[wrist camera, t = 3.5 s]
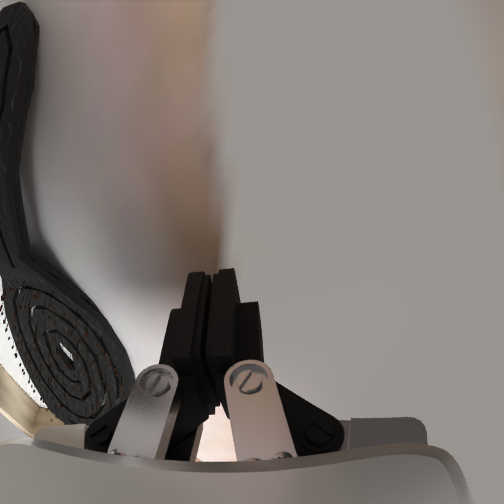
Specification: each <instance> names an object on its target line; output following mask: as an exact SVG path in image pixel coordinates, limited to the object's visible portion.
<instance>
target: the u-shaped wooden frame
mask: <svg viewBox="0 0 504 504" xmlns="http://www.w3.org/2000/svg"><path fill="white" fill-rule="evenodd" d="M0 412H1V413H2V414H3V415H4V416H5V417H6V418H7V419H9V420H10V421H11V422H12V423H13V424H14V425H16V426H17V427H18V428H19V429H20V430H22V431H23V432H24V433H25V434H26V435H28V436H29V437H31V438H34V435H35V433H36V432H37V430H39V429H40V428H41V427H45V426H60V425H64V423H63V422H62V421H61V420H60V422H59V418H58V419H57V418H55V415H54V414H53V413H52V415H51V412H50V410H49V409H48V411H46V408H41V407H39V406H38V405H37V404H36V403H35V402H34V401H33V400H32V399H31V398H30V397H29V396H28V395H27V394H26V393H25V392H24V391H23V390H22V389H21V388H20V387H19V385H18V384H17V383H16V382H15V381H14V380H13V379H12V378H11V377H10V376H9V374H8V373H7V372H6V371H5V370H4V369H3V367H2V366H1V365H0ZM51 419H52V422H51Z"/></svg>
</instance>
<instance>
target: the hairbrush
mask: <svg viewBox="0 0 504 504" xmlns="http://www.w3.org/2000/svg"><path fill="white" fill-rule="evenodd" d="M34 21H35V24H36V28H37V31H36V36H35V32H34ZM38 39H39V24H38V23H37V21H36V19H35V17H34V15H33V13H32V12H31V10H30V9H29V8H28V6H27V5H26V4H25V3H23V2H18V3H15V4H12V5H9V6H6V7H4V8H3V9H2V10H1V12H0V276H1V278H2V288H3V294H2V296H1V301H4V308H5V314H6V317H7V321H8V324H9V327H10V330H11V333H12V336H13V339H14V342H15V345H16V348H17V349H16V350H18V353H19V355H20V357H21V359H22V362H23V364H24V366H25V368H26V370H27V372H28V374H29V381H28V383H30V378H31V380H32V382H33V384H34V388H35V387H36V389H37V391H38V392H39V394H40V396H41V398H40V400H42V399H43V401H42V402H43V403H44V402H45V404H46V405H47V407H48V409H49V410H50V412H51V415H52V413H53V414H54V415H55V418H57V419H58V418H59V422H60V420H61V421H62V422H63V423H64V425H75V424H85V425H86V426H89V425H90V424H91V423H93V422H94V421H95V420H97V419H98V418H99V417H101V416H102V415H104V414H105V413H107V412H108V411H110V410H111V409H112V408H114V407H115V406H116V404H117V401H118V398H119V403H121V402H122V401H124V400H125V399H127V398H128V397H129V395H130V393H131V390H132V388H133V385H134V383H135V379H134V374H133V371H132V367H131V364H130V361H129V357H128V355H127V352H126V350H125V348H124V347H123V345H122V344H121V342H120V340H119V339H118V337H117V335H116V334H115V332H114V330H113V329H112V327H111V325H110V324H109V322H108V321H107V320H106V319H105V318H104V316H103V315H102V313H101V312H100V311H99V309H98V308H97V306H96V305H95V304H94V303H93V302H92V301H91V300H90V299H89V298H88V297H87V296H86V295H85V294H84V293H83V292H82V291H80V290H79V289H78V288H77V287H76V286H74V285H73V284H72V283H71V282H70V281H69V280H67V279H66V278H65V277H64V276H63V275H61V274H60V273H59V272H58V271H56V270H55V269H54V268H53V267H51V266H50V265H49V264H48V263H46V262H45V261H44V260H43V259H41V258H40V257H39V256H38V255H36V254H35V253H34V252H33V251H32V250H31V248H30V243H29V238H28V233H27V228H26V222H25V216H24V209H23V202H22V194H21V186H20V176H19V169H20V159H21V151H22V143H23V136H24V130H25V124H26V119H27V113H28V108H29V103H30V99H31V94H32V90H33V86H34V73H35V63H36V54H37V46H38ZM24 286H25V287H24ZM20 287H22V288H20ZM19 289H20V291H21V292H20V294H19V295H18V293H19ZM79 294H80V295H81V296H82V297H84V298H85V299H86V300H88V301H89V302H90V303H91V304H92V305H93V306H94V307H95V308H96V310H97V311H98V312H99V313H100V314H99V313H98V312H97V311H96V310H95V309H94V308H93V307H92V306H91V305H89V304H88V303H87V302H86V301H85V300H84V299H83V298H82V297H81V296H80V295H79ZM34 306H36V307H35V308H33V315H31V309H32V307H34ZM2 307H3V303H2V305H1V307H0V311H1V309H2ZM3 310H4V309H3ZM1 315H3V312H1ZM6 317H5V319H4V320H3V324H5V323H6V322H5V320H6ZM8 324H7V327H8ZM7 327H6V329H5V332H7V330H8V329H7ZM47 331H48V332H47ZM9 339H10V337H8V340H9ZM60 343H61V344H62V345H63V346H64V347H65V348H66V349H67V350H68V351H69V352H70V358H69V357H68V356H67V355H66V354H65V353H64V352H63V351H62V350H63V349H61V345H60ZM13 344H14V343H13ZM13 347H14V346H12V349H13ZM71 354H72V356H73V361H74V362H73V361H72V360H71ZM14 355H15V356H16V357H15V358H17V353H15V354H14ZM68 359H69V360H70V361H69V360H68ZM71 362H72V364H71ZM19 366H21V363H20V364H19ZM24 370H25V369H24ZM24 370H23V369H22V372H23V371H24ZM24 374H25V372H23V375H24ZM91 384H92V386H91ZM90 386H91V387H92V390H89V389H90ZM31 388H32V385H31ZM106 391H107V397H106V401H105V403H104V405H103V406H101V405H102V402H103V399H104V396H105V394H106ZM34 392H35V390H33V393H34ZM48 409H47V408H46V411H48ZM51 422H52V419H51Z"/></svg>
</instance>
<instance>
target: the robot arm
mask: <svg viewBox="0 0 504 504" xmlns="http://www.w3.org/2000/svg"><path fill="white" fill-rule="evenodd" d="M220 402H221V404H222V406H223V409H224V411H225V413H226V416H227V418H228V419H230V423H231V429H232V435H233V441H234V446H235V452H236V457H237V462H195V461H196V456H197V452H198V448H199V444H200V439H201V435H202V431H203V422H205V421H206V420H207V419H208V418H209V415H215V407H217V406H220ZM0 504H474V503H473V499H472V496H471V493H470V490H469V487H468V484H467V481H466V479H465V476H464V474H463V472H462V470H461V468H460V466H459V464H458V463H457V461H456V460H455V459H454V457H453V456H452V455H451V454H450V453H448V452H447V451H445V450H444V449H442V448H439V447H435V446H431V445H428V443H427V431H426V428H425V426H424V424H423V423H422V422H421V421H420V420H418V419H416V418H413V417H393V418H351V420H337V419H336V418H335V417H333V416H332V415H330V414H328V413H326V412H325V411H323V410H321V409H320V408H318V407H316V406H315V405H313V404H311V403H309V402H308V401H306V400H305V399H303V398H301V397H300V396H298V395H296V394H295V393H293V392H292V391H290V390H288V389H287V388H285V387H284V386H282V385H281V384H279V383H277V382H276V381H275V379H274V376H273V373H272V371H271V369H270V367H268V366H267V365H266V364H265V363H264V357H263V341H262V330H261V320H260V313H259V305H258V301H257V302H247V303H241V302H240V297H239V291H238V286H237V280H236V275H235V270H234V268H231V269H221V270H219V273H218V274H214V276H213V284H212V280H211V276H210V275H205V273H204V271H202V272H192V273H189V274H188V278H187V282H186V287H185V292H184V296H183V301H182V305H181V308H179V309H172V310H171V312H170V316H169V320H168V325H167V329H166V333H165V338H164V342H163V346H162V351H161V356H160V360H159V364H156V365H153V366H149V367H148V368H146V369H144V370H143V371H142V372H141V373H140V374H139V375H138V377H137V379H136V381H135V383H134V385H133V388H132V390H131V393H130V395H129V397H128V398H127V399H125V400H124V401H122V402H121V403H119V404H118V405H117V406H115V407H114V408H112V409H111V410H110V411H108V412H107V413H105V414H104V415H102V416H101V417H99V418H98V419H97V420H95V421H94V422H93V423H91V424H90V425H89V426H86V425H85V424H75V425H60V426H45V427H41V428H40V429H39V430H37V432H36V433H35V435H34V438H33V439H30V438H17V439H11V440H6V441H3V442H1V443H0Z"/></svg>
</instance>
